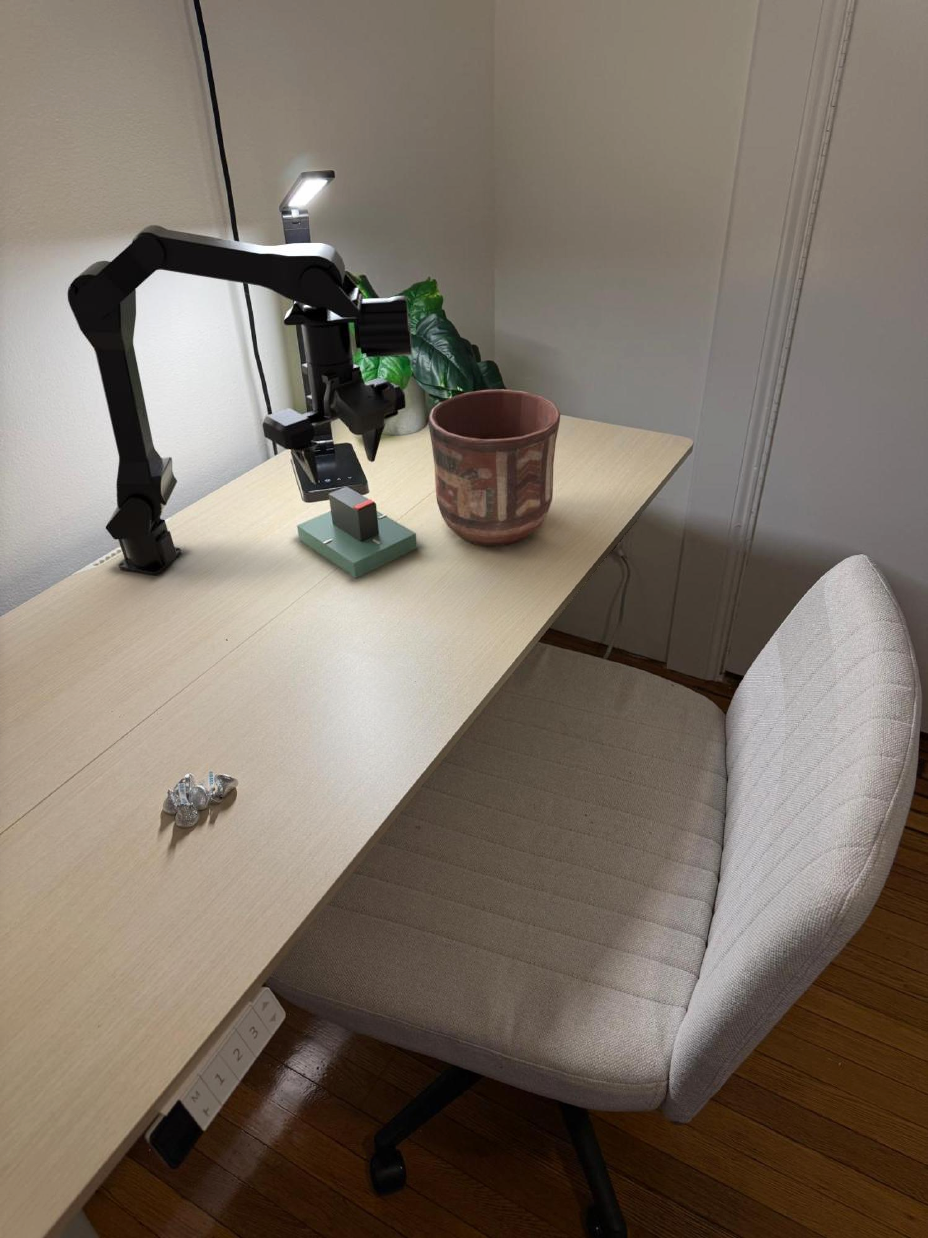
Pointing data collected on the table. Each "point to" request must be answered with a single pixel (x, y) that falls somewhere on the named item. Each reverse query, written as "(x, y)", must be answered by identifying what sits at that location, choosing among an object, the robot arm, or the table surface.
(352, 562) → the green flat block
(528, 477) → the pottery
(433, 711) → the table surface
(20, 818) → the table surface
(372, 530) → the block
